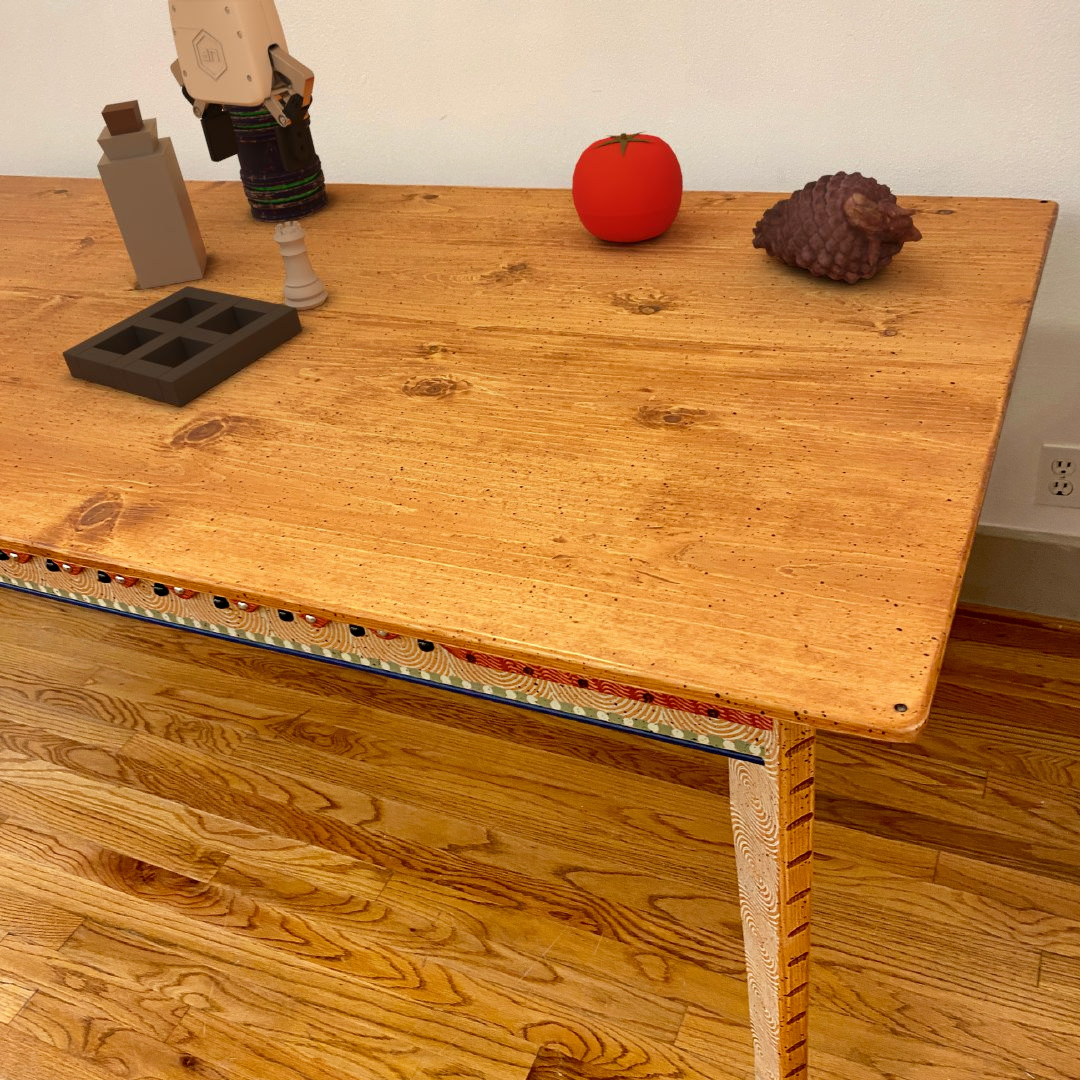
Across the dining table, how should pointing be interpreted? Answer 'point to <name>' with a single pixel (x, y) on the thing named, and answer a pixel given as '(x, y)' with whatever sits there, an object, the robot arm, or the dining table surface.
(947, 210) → the dining table surface
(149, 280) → the perfume bottle
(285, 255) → the rook chess piece
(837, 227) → the pine cone
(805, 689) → the dining table surface
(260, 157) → the dark purple cylinder
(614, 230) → the tomato
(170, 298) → the holder
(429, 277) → the dining table surface
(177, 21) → the robot arm
